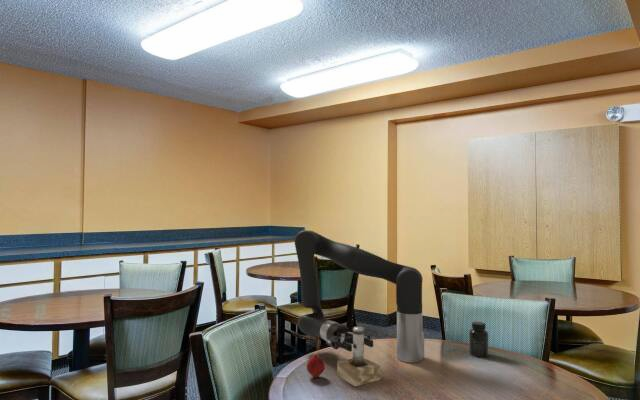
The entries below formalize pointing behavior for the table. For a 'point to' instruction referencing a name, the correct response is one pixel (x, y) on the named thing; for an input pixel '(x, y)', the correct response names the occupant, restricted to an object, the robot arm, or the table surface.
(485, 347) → the supplement bottle
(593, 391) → the table surface
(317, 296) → the robot arm
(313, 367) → the onion
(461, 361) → the table surface
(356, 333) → the cylinder
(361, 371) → the square ring gauge
